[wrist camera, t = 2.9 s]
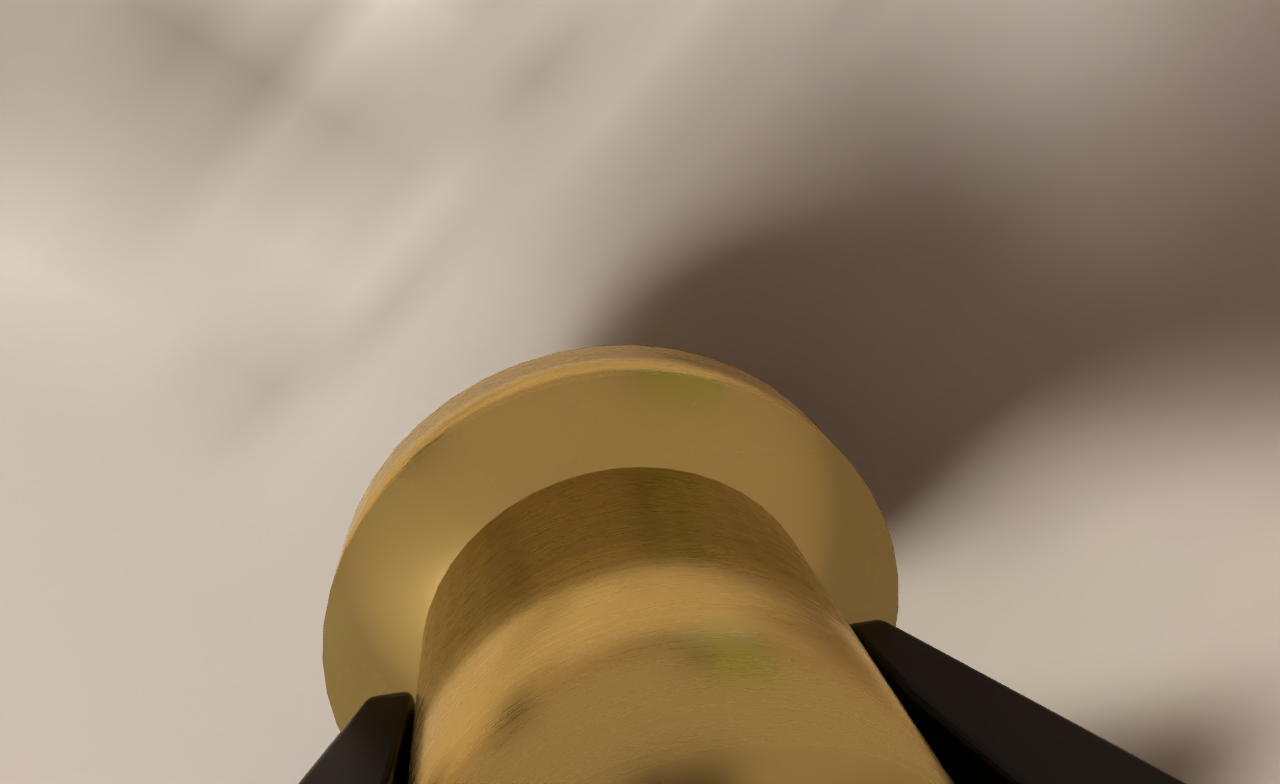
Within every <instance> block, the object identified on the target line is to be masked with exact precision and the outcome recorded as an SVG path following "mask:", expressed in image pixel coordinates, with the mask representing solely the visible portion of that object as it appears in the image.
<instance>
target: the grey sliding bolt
mask: <svg viewBox="0 0 1280 784" xmlns="http://www.w3.org/2000/svg"><path fill="white" fill-rule="evenodd" d="M897 613H898V574H897V567H896V561H895V555H894V549H893V544H892V541H891V538H890V535H889V532H888V529H887V526H886V523H885V520H884V517H883V515H882V513H881V511H880V509H879V507H878V505H877V503H876V501H875V499H874V497H873V495H872V493H871V491H870V489H869V487H868V486H867V485H866V483H865V482H864V481H863V479H862V478H861V476H860V475H859V474H858V472H857V471H856V470H855V468H854V467H853V465H852V464H851V463H850V461H849V460H848V459H847V458H846V457H845V456H844V455H843V454H842V453H841V452H840V451H839V450H838V449H837V448H836V447H835V445H834V444H833V443H832V442H831V441H830V440H829V439H828V438H827V437H826V436H825V435H824V434H823V433H822V432H821V431H820V430H819V429H818V427H817V426H816V425H815V424H814V423H813V422H812V421H811V420H810V419H809V418H808V417H807V416H806V415H805V414H804V413H803V412H802V411H801V410H800V409H799V408H798V407H797V406H796V405H795V404H793V403H792V402H791V401H789V400H788V399H787V398H785V397H784V396H783V395H781V394H780V393H779V392H777V391H776V390H775V389H773V388H772V387H771V386H769V385H768V384H766V383H764V382H762V381H760V380H759V379H757V378H755V377H753V376H751V375H749V374H748V373H746V372H744V371H742V370H740V369H738V368H736V367H733V366H730V365H728V364H725V363H722V362H719V361H717V360H714V359H711V358H709V357H706V356H702V355H697V354H693V353H689V352H684V351H680V350H675V349H671V348H661V347H650V346H639V345H620V346H594V347H588V348H582V349H576V350H570V351H564V352H558V353H554V354H551V355H547V356H544V357H540V358H537V359H534V360H530V361H527V362H523V363H520V364H518V365H515V366H513V367H511V368H508V369H506V370H504V371H501V372H499V373H497V374H495V375H492V376H490V377H488V378H485V379H483V380H482V381H480V382H478V383H477V384H475V385H473V386H472V387H470V388H468V389H466V390H465V391H463V392H461V393H460V394H458V395H456V396H455V397H453V398H451V399H450V400H449V401H447V402H446V403H445V404H443V405H442V406H441V407H440V408H438V409H437V410H436V411H435V412H433V413H432V414H431V415H429V416H428V417H427V418H426V419H424V420H423V421H422V422H421V423H420V424H419V425H418V426H417V427H416V428H415V429H414V430H413V431H412V432H411V433H410V434H409V435H408V436H407V437H406V438H405V439H404V440H403V441H402V442H401V443H400V444H399V445H398V446H397V447H396V448H395V449H394V451H393V452H392V453H391V455H390V456H389V457H388V459H387V460H386V461H385V463H384V464H383V465H382V467H381V468H380V470H379V471H378V472H377V474H376V475H375V476H374V478H373V479H372V481H371V483H370V485H369V487H368V489H367V490H366V492H365V494H364V496H363V498H362V500H361V502H360V504H359V505H358V507H357V509H356V512H355V515H354V517H353V520H352V523H351V526H350V529H349V531H348V534H347V537H346V540H345V543H344V546H343V549H342V553H341V556H340V560H339V563H338V566H337V570H336V573H335V576H334V580H333V583H332V587H331V590H330V595H329V600H328V605H327V610H326V616H325V621H324V629H323V666H324V673H325V681H326V688H327V694H328V697H329V700H330V704H331V707H332V710H333V713H334V717H335V720H336V723H337V725H338V727H339V729H340V731H342V730H343V728H344V727H345V726H346V725H347V723H348V722H349V721H350V720H351V719H352V717H353V716H354V715H355V714H356V712H357V711H358V710H359V709H360V707H361V706H362V705H363V704H364V703H365V701H366V700H368V699H369V698H371V697H373V696H378V695H384V694H391V693H398V692H409V693H410V694H411V695H412V696H413V698H414V701H415V713H414V722H413V732H412V741H411V750H410V759H409V768H408V778H407V784H954V782H953V781H952V779H951V778H950V776H949V775H948V773H947V772H946V770H945V769H944V767H943V766H942V764H941V763H940V761H939V760H938V758H937V757H936V755H935V754H934V752H933V751H932V749H931V748H930V746H929V745H928V743H927V742H926V740H925V739H924V737H923V736H922V734H921V733H920V731H919V730H918V728H917V727H916V725H915V724H914V722H913V721H912V719H911V718H910V716H909V715H908V713H907V711H906V710H905V708H904V707H903V705H902V704H901V702H900V701H899V699H898V698H897V696H896V695H895V693H894V692H893V690H892V689H891V687H890V686H889V684H888V683H887V681H886V680H885V678H884V677H883V675H882V674H881V672H880V671H879V669H878V668H877V666H876V665H875V663H874V662H873V660H872V659H871V657H870V656H869V654H868V653H867V651H866V650H865V648H864V647H863V645H862V644H861V642H860V641H859V639H858V638H857V636H856V635H855V633H854V632H853V630H852V628H851V627H850V625H849V624H852V623H858V622H865V621H871V620H883V621H885V622H888V623H890V624H891V625H893V626H895V627H896V620H897Z"/></svg>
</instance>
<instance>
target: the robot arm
mask: <svg viewBox="0 0 1280 784" xmlns="http://www.w3.org/2000/svg"><path fill="white" fill-rule="evenodd" d="M849 625H850V627H851V628H852V630H853V632H854V633H855V635H856V636H857V638H858V639H859V641H860V642H861V644H862V645H863V647H864V648H865V650H866V651H867V653H868V654H869V656H870V657H871V659H872V660H873V662H874V663H875V665H876V666H877V668H878V669H879V671H880V672H881V674H882V675H883V677H884V678H885V680H886V681H887V683H888V684H889V686H890V687H891V689H892V690H893V692H894V693H895V695H896V696H897V698H898V699H899V701H900V702H901V704H902V705H903V707H904V708H905V710H906V711H907V713H908V715H909V716H910V718H911V719H912V721H913V722H914V724H915V725H916V727H917V728H918V730H919V731H920V733H921V734H922V736H923V737H924V739H925V740H926V742H927V743H928V745H929V746H930V748H931V749H932V751H933V752H934V754H935V755H936V757H937V758H938V760H939V761H940V763H941V764H942V766H943V767H944V769H945V770H946V772H947V773H948V775H949V776H950V778H951V779H952V781H953V782H954V784H1186V783H1185V782H1183V781H1181V780H1179V779H1177V778H1175V777H1173V776H1172V775H1170V774H1168V773H1166V772H1164V771H1162V770H1160V769H1159V768H1157V767H1155V766H1153V765H1151V764H1149V763H1147V762H1146V761H1144V760H1142V759H1140V758H1138V757H1136V756H1134V755H1133V754H1131V753H1129V752H1127V751H1125V750H1123V749H1121V748H1120V747H1118V746H1116V745H1114V744H1112V743H1110V742H1108V741H1107V740H1105V739H1103V738H1101V737H1099V736H1097V735H1095V734H1094V733H1092V732H1090V731H1088V730H1086V729H1084V728H1082V727H1081V726H1079V725H1077V724H1075V723H1073V722H1071V721H1070V720H1068V719H1066V718H1064V717H1062V716H1060V715H1058V714H1057V713H1055V712H1053V711H1051V710H1049V709H1047V708H1045V707H1044V706H1042V705H1040V704H1038V703H1036V702H1034V701H1032V700H1031V699H1029V698H1027V697H1025V696H1023V695H1021V694H1019V693H1018V692H1016V691H1014V690H1012V689H1010V688H1008V687H1006V686H1005V685H1003V684H1001V683H999V682H997V681H995V680H993V679H992V678H990V677H988V676H986V675H984V674H982V673H980V672H979V671H977V670H975V669H973V668H971V667H969V666H967V665H966V664H964V663H962V662H960V661H958V660H956V659H954V658H953V657H951V656H949V655H947V654H945V653H943V652H941V651H940V650H938V649H936V648H934V647H932V646H930V645H929V644H927V643H925V642H923V641H921V640H919V639H917V638H916V637H914V636H912V635H910V634H908V633H906V632H904V631H903V630H901V629H899V628H897V627H895V626H893V625H891V624H890V623H888V622H885V621H883V620H871V621H865V622H858V623H852V624H849ZM414 713H415V701H414V698H413V696H412V695H411V694H410V693H409V692H398V693H391V694H384V695H378V696H373V697H371V698H369V699H368V700H366V701H365V703H364V704H363V705H362V706H361V707H360V709H359V710H358V711H357V712H356V714H355V715H354V716H353V717H352V719H351V720H350V721H349V722H348V723H347V725H346V726H345V727H344V728H343V730H342V731H341V732H340V733H339V734H338V736H337V737H336V738H335V739H334V741H333V742H332V743H331V744H330V746H329V747H328V748H327V749H326V750H325V752H324V753H323V754H322V755H321V757H320V758H319V759H318V760H317V762H316V763H315V764H314V765H313V766H312V768H311V769H310V770H309V771H308V773H307V774H306V775H305V776H304V778H303V779H302V780H301V781H300V782H299V784H407V778H408V768H409V759H410V750H411V741H412V732H413V722H414Z"/></svg>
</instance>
